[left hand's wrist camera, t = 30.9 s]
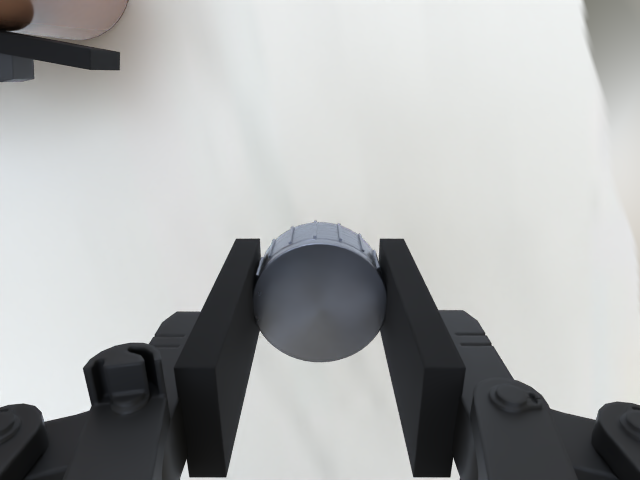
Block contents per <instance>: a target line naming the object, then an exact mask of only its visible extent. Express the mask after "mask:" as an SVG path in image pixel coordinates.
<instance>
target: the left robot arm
mask: <svg viewBox="0 0 640 480" xmlns="http://www.w3.org/2000/svg"><path fill="white" fill-rule="evenodd" d="M260 260H261V253H260V239H236V240H235V242H234V244H233V246H232V248H231V250H230V253H229V255H228V257H227V259H226V261H225V263H224V265H223V267H222V269H221V271H220V273H219V275H218V277H217V279H216V281H215V283H214V286H213V288H212V290H211V292H210V294H209V296H208V298H207V300H206V302H205V304H204V306H203V308H202V310H201V312H176V313H174V314H173V315H172V316H170V317H169V318H167V319H166V320H165V321H163V322H162V324H161V325H160V327H159V329H158V330H157V332H156V333H155V337H153V338H152V340H151V342H150V343H149V344H145V343H127V344H122V345H117V346H114V347H111V348H109V349H106V350H104V351H102V352H100V353H99V354H97V355H96V356H94V357H93V358H91V359H90V360H89V361H88V363H87V364H86V365H85V366H84V368H83V371H84V375H85V379H86V384H87V388H88V392H89V396H90V401H91V405H92V406H91V409H90V411H87V412H84V413H80V414H77V415H73V416H68V417H64V418H60V419H55V420H51V421H46V422H44V419H43V416H42V412H41V411H40V410H39V409H38V408H37V407H35V406H33V405H28V404H14V405H7V406H4V407H0V480H180V477H181V474H182V471H183V468H184V465H185V462H186V459H187V464H188V471H189V477H226V476H227V472H228V467H229V463H230V459H231V454H232V450H233V445H234V441H235V437H236V432H237V428H238V423H239V419H240V415H241V410H242V406H243V401H244V397H245V393H246V388H247V384H248V379H249V375H250V371H251V366H252V362H253V357H254V353H255V349H256V344H257V340H258V335H259V331H260V330H259V328H258V326H257V324H256V321H255V318H254V309H253V290H254V286H255V283H256V280H257V277H255V276H256V272H257V269H258V266H259V263H260ZM379 265H380V268H381V269H380V270H381V273H382V277H383V280H384V284H385V287H386V291H387V304H386V317H385V320H384V323H383V325H382V327H381V329H380V332H381V337H382V341H383V345H384V350H385V354H386V359H387V363H388V367H389V372H390V376H391V381H392V385H393V389H394V394H395V398H396V403H397V407H398V411H399V416H400V420H401V425H402V429H403V433H404V438H405V442H406V447H407V451H408V455H409V460H410V464H411V469H412V473H413V477H450V476H451V469H452V462H453V458H454V461H455V464H456V467H457V470H458V472H459V475H460V480H640V405H636V404H633V403H625V402H613V403H608V404H605V405H604V406H603V407H602V408H600V409H599V411H598V415H597V418H596V420H593V419H589V418H584V417H580V416H575V415H571V414H566V413H562V412H559V411H556V410H552V409H550V408H549V405H548V404H547V402H546V401H545V399H544V398H543V396H542V395H541V394H539V393H538V392H537V391H536V390H534V389H533V388H532V387H530V386H528V385H526V384H524V383H522V382H519V381H517V380H514V379H513V377H512V376H511V374H510V372H509V371H508V369H507V368H506V366H505V364H504V363H503V361H502V359H501V358H500V356H499V355H498V353H497V351H496V350H495V348H494V347H493V346H492V345H491V342H490V340H489V339H488V337H487V336H485V332H484V330H483V329H482V327H481V326H480V324H479V322H478V321H477V320H476V319H474V318H473V317H472V316H470V315H469V314H468V313H466V312H465V311H463V310H438V309H437V307H436V305H435V303H434V301H433V299H432V296H431V294H430V292H429V290H428V288H427V286H426V284H425V282H424V280H423V278H422V276H421V274H420V272H419V270H418V268H417V266H416V263H415V261H414V259H413V257H412V255H411V253H410V251H409V249H408V247H407V245H406V243H405V241H404V239H380V248H379Z"/></svg>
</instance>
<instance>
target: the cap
mask: <svg viewBox="0 0 640 480" xmlns="http://www.w3.org/2000/svg"><path fill="white" fill-rule="evenodd" d="M380 269H381V268H380V265H379V261H378V258H377V255H376V251H375V250H372V249H371V247H370V246H369V244H368V243H367V242H366V241H365V240H364V239H363V238H362V236H361V234H360V233H359V234H357V233H355V232H353V231H352V230H350V229H348V228H345V227H343V226H341V224H339V223H338V224H332V223H323V222H317V221H314V223H308V224H303V225H299V226H297V227H294V226H292V227H291V229H290V230H288V231H286V232H285V233H283V234H282V235H280V236H279V237H278V238H277V239H276V240H275V239H273V240H272V244H271V245H270V247H269V248H268V250H267V251H266V253H265V255H264V257H261V260H260V263H259V266H258V269H257V272H256V276H255V277H257V280H256V283H255V286H254V290H253V309H254V318H255V321H256V324H257V326H258V328H259V330H260V331H261V333H262V334H263V336H264V337H265V338H266V339H267V340H268V341H269V342H270V343H271V344H272V345H273V346H274V347H275V348H277V349H278V350H280V351H281V352H283V353H285V354H287V355H289V356H291V357H294V358H296V359H300V360H304V361H310V362H330V361H335V360H340V359H343V358H346V357H349V356H351V355H353V354H355V353H357V352H358V351H360V350H362V349H363V348H364V347H366V346H367V345H368V344H369V343H370V342H371V341H372V340H373V339H374V338H375V336H376V335H377V334H378V332H379V331H380V329H381V327H382V325H383V323H384V320H385V317H386V304H387V291H386V287H385V284H384V280H383V277H382V273H381V270H380Z"/></svg>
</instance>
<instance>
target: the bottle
mask: <svg viewBox="0 0 640 480" xmlns="http://www.w3.org/2000/svg"><path fill="white" fill-rule="evenodd" d="M127 2H128V0H0V30H2V31H10V32H17V33H24V34H32V35H39V36H47V37H54V38H62V39H70V40H86V39H91V38H94V37H97V36H99V35H101V34H103V33H105V32H106V31H108V30H109V29H110V28H112V27H113V26H114V25H115V23H116V22H117V21H118V20H119V18H120V17H121V16H122V14H123V12H124V10H125V8H126V5H127Z"/></svg>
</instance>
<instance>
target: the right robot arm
mask: <svg viewBox="0 0 640 480" xmlns="http://www.w3.org/2000/svg"><path fill="white" fill-rule="evenodd" d="M33 59H34V60H40V61H45V62H51V63H56V64H62V65H67V66H72V67H78V68H83V69H89V70H120V52H116V51H110V50H105V49H99V48H94V47H89V46H83V45H78V44H73V43H67V42H62V41H57V40H51V39H46V38H41V37H35V36H30V35H25V34H19V33H14V32H9V31H2V30H0V82H22V81H27V80H31V79H34V63H33Z"/></svg>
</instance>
